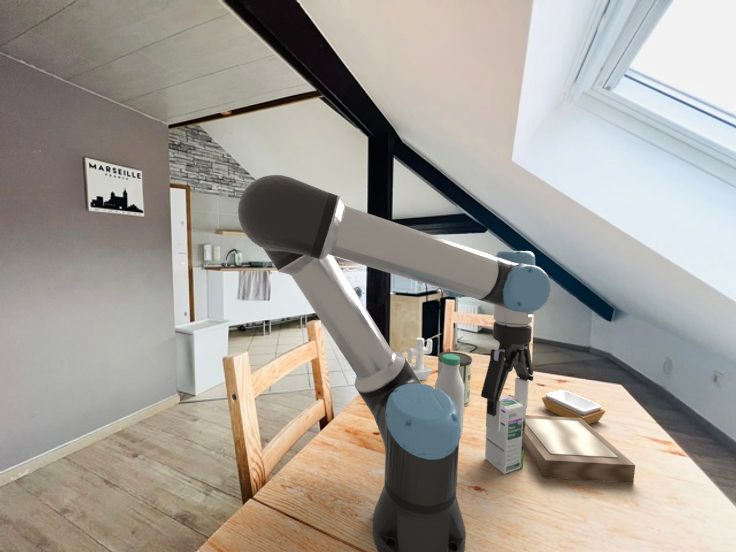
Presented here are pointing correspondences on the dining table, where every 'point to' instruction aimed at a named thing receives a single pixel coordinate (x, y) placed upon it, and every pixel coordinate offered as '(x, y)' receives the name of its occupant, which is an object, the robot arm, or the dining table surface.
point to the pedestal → (574, 451)
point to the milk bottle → (452, 383)
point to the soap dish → (573, 406)
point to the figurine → (420, 358)
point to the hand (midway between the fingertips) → (507, 416)
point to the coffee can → (461, 372)
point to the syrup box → (507, 437)
